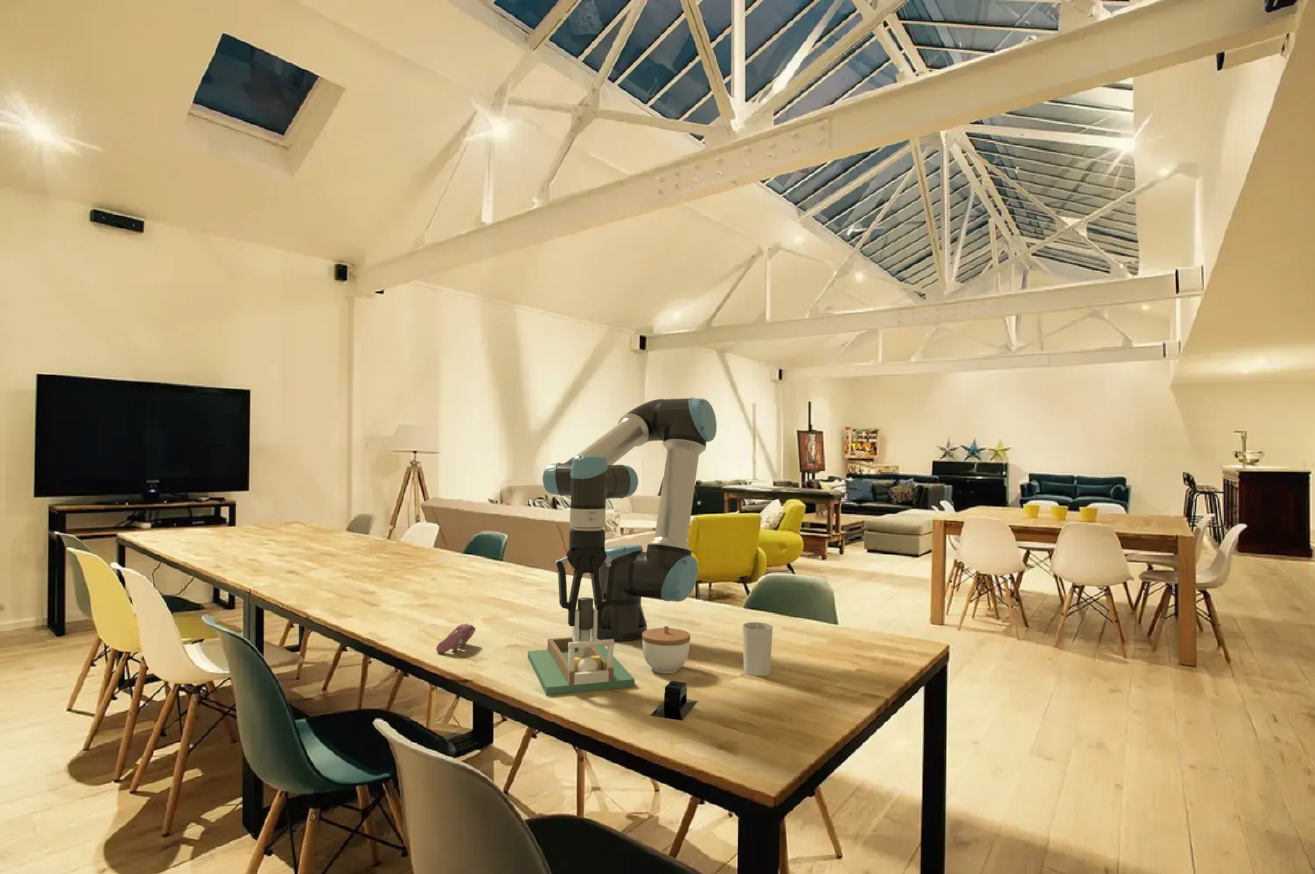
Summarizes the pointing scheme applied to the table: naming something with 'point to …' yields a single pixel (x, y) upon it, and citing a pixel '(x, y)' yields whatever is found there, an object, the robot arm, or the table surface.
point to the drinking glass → (757, 648)
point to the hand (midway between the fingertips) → (584, 640)
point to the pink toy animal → (456, 638)
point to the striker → (585, 630)
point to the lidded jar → (665, 648)
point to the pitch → (559, 667)
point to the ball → (587, 665)
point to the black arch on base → (675, 702)
